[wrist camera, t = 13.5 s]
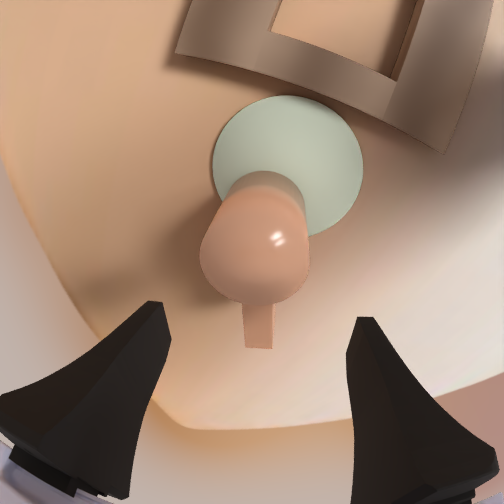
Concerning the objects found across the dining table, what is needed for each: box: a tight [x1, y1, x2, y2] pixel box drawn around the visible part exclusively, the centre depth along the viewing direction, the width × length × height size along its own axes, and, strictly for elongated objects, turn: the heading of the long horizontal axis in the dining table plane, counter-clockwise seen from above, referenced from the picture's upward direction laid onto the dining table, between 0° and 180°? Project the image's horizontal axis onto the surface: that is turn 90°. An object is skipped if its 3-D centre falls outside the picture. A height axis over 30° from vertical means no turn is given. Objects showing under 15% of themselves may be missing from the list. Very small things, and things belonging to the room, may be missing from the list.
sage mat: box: [212, 95, 363, 236], centre depth 17 cm, size 9×9×1 cm
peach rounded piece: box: [199, 171, 310, 349], centre depth 17 cm, size 9×5×6 cm, turn 2°
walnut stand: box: [175, 0, 493, 155], centre depth 11 cm, size 16×12×2 cm
